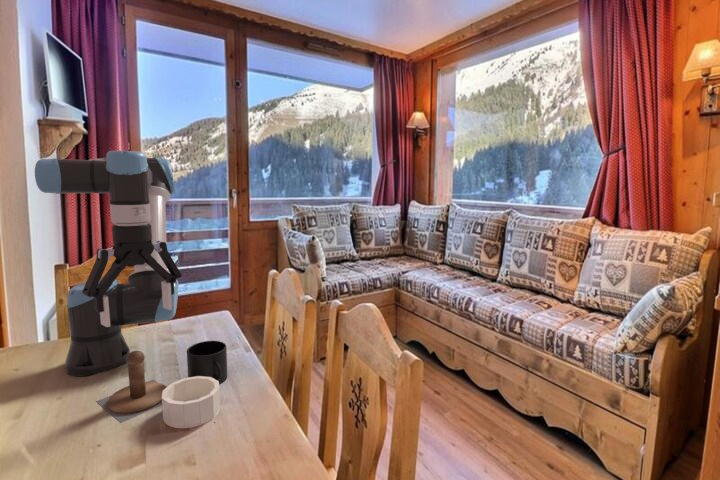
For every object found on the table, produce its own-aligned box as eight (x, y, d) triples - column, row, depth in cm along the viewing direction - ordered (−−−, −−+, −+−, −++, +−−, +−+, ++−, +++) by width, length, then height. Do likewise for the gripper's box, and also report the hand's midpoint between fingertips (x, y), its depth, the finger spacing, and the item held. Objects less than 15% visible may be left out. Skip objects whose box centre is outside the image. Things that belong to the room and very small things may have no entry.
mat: (96, 403, 92) (95, 401, 92) (153, 381, 102) (153, 379, 102) (120, 425, 84) (120, 422, 84) (180, 399, 95) (179, 396, 94)
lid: (99, 401, 92) (94, 352, 90) (152, 380, 102) (149, 336, 100) (122, 420, 85) (117, 368, 83) (176, 396, 94) (174, 349, 93)
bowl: (153, 416, 88) (151, 391, 87) (201, 394, 97) (200, 371, 96) (181, 437, 81) (180, 410, 80) (230, 412, 90) (229, 387, 89)
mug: (202, 399, 95) (200, 363, 93) (182, 380, 103) (180, 347, 102) (239, 385, 101) (237, 351, 100) (217, 368, 110) (216, 337, 108)
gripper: (72, 231, 75) (82, 338, 78) (194, 220, 95) (198, 305, 99) (56, 227, 79) (67, 329, 83) (176, 217, 99) (180, 299, 103)
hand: (138, 316), depth 91 cm, fingers open, 13 cm apart
